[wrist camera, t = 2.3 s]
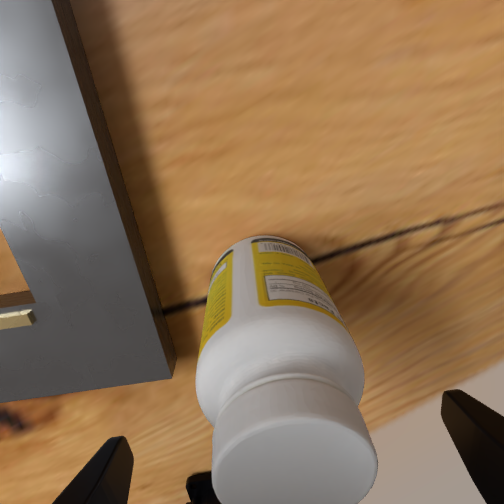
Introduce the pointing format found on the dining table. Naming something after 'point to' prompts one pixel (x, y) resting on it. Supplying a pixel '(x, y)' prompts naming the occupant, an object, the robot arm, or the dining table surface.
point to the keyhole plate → (67, 223)
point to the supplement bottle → (281, 382)
